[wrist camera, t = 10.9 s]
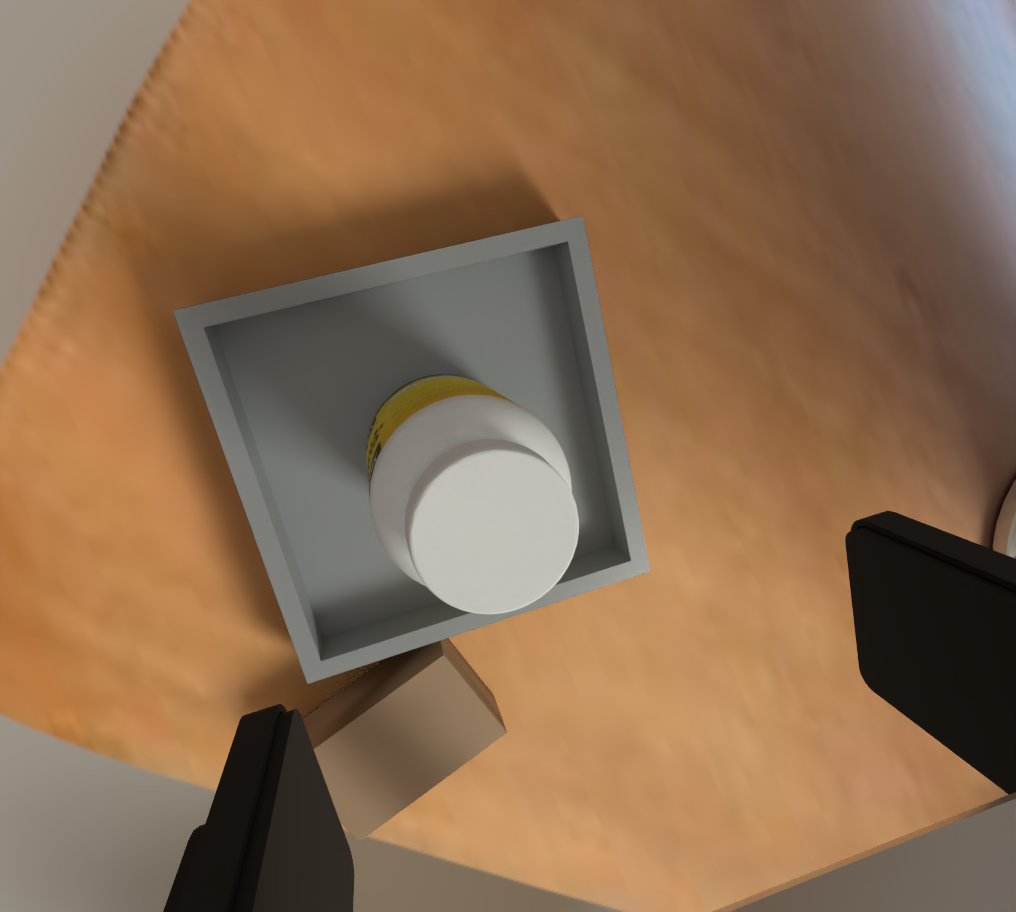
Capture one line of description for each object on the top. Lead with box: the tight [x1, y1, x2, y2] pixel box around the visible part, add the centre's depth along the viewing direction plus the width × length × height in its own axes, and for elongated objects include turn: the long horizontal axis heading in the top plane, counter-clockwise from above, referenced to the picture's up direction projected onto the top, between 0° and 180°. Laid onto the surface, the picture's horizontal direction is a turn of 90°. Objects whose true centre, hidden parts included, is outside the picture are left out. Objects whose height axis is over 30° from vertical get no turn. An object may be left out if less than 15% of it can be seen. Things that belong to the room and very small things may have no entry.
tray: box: [173, 216, 650, 684], centre depth 28 cm, size 16×16×3 cm
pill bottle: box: [366, 374, 579, 614], centre depth 23 cm, size 6×6×12 cm
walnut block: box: [303, 638, 507, 842], centre depth 30 cm, size 8×5×3 cm, turn 123°
